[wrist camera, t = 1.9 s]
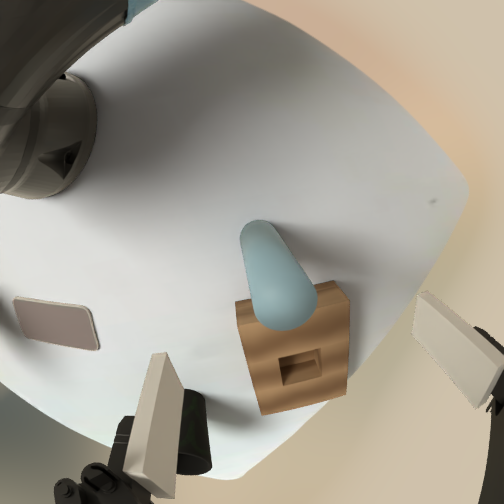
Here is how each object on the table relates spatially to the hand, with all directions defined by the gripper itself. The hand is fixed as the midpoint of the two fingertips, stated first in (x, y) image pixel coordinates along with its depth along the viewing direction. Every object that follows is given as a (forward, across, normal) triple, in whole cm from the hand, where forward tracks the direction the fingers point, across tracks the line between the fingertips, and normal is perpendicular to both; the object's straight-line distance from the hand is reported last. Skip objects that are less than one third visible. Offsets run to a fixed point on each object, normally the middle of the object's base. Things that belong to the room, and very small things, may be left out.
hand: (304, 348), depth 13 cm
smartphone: (+19, -31, -6) cm, 37 cm away
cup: (+18, -15, -23) cm, 33 cm away
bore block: (+18, +2, -15) cm, 24 cm away
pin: (+18, 0, 0) cm, 18 cm away
